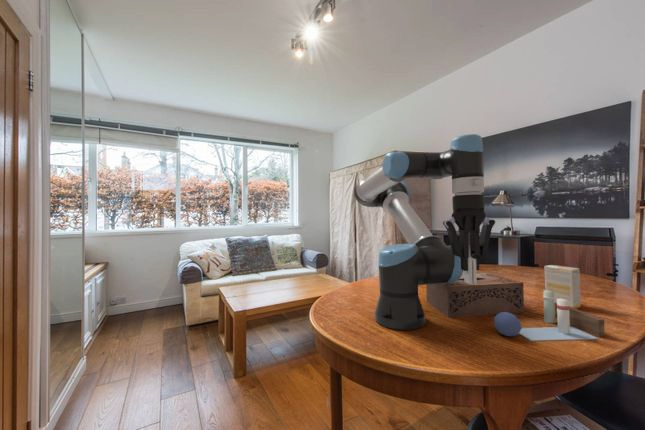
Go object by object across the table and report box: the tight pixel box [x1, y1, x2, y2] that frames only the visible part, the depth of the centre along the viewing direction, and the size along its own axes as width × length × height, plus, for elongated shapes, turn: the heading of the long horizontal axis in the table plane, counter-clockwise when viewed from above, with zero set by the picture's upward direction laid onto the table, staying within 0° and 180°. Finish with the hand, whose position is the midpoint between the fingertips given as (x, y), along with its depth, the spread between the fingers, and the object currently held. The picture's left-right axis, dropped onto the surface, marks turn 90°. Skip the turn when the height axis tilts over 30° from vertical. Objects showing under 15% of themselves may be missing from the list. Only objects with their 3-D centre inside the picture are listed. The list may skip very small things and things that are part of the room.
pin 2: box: [556, 299, 571, 335], centre depth 71 cm, size 2×2×9 cm
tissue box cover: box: [425, 272, 525, 318], centre depth 93 cm, size 26×14×10 cm, turn 94°
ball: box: [493, 312, 522, 337], centre depth 71 cm, size 6×6×6 cm
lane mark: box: [518, 326, 599, 342], centre depth 71 cm, size 17×7×1 cm, turn 90°
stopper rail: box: [554, 303, 606, 338], centre depth 75 cm, size 2×13×4 cm, turn 0°
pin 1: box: [542, 289, 556, 324], centre depth 78 cm, size 2×2×9 cm
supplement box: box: [543, 264, 582, 309], centre depth 92 cm, size 8×5×13 cm, turn 22°
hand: (470, 282), depth 71 cm, fingers closed
